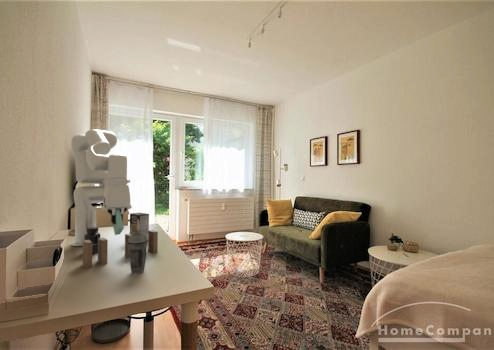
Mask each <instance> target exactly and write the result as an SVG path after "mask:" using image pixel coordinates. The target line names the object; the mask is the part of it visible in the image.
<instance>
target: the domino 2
mask: <svg viewBox="0 0 494 350" xmlns="http://www.w3.org/2000/svg"><path fill="white" fill-rule="evenodd" d="M108 241H109V240H108V239H107V238H105V237H100V238H98V253H97V262H98V263H99V264H100V265H101V266H102V265H107V264H108Z"/></svg>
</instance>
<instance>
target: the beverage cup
mask: <svg viewBox="0 0 494 350" xmlns="http://www.w3.org/2000/svg"><path fill="white" fill-rule="evenodd" d="M128 247H129V253H130V259H129V262H130V273H131V274H132V275H133V274H134V275H137V274H138V275H139V274H142V273H144V271H145V267H146V259H147V257H146V256H147V249H148V248H147V247H148V237H147V235H146V234H145V233H144V232H143V231H139V219H137V231H135V232H133V233H132V234H131V235H130V237H129V239H128Z"/></svg>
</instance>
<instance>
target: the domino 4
mask: <svg viewBox="0 0 494 350" xmlns="http://www.w3.org/2000/svg"><path fill="white" fill-rule="evenodd" d="M158 234H159V232H158V231H157V230H155V229H154V230H153V229H150V230H148V244H147V247H148V248H147V250H148V252H150V253H153V254H155V253H158V250H159V249H158V245H159V244H158V243H159V241H158V240H159V239H158V237H159V235H158Z"/></svg>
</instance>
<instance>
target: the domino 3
mask: <svg viewBox="0 0 494 350" xmlns="http://www.w3.org/2000/svg"><path fill="white" fill-rule="evenodd" d="M130 235H131V234H130V232H129V233H125V234H124V256H125V257H126V258H127V259H129V260H130V253H129V247H128V239H129V237H130Z"/></svg>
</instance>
